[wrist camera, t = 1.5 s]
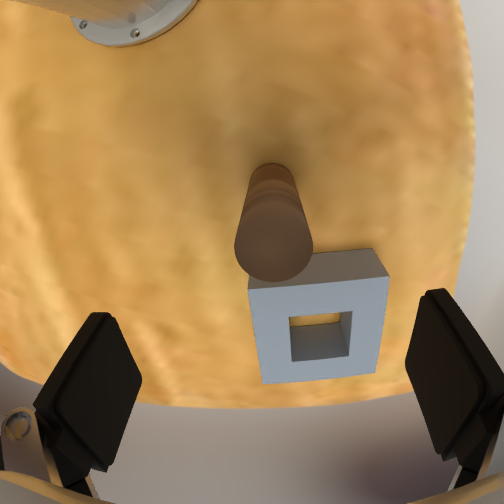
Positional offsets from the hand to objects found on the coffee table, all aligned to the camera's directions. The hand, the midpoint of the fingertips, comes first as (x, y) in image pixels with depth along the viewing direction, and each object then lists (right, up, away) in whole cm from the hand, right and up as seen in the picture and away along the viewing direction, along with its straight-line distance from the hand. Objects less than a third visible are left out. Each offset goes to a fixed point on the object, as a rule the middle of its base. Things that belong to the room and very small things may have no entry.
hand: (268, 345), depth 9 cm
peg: (+1, +8, +16) cm, 18 cm away
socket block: (+6, -2, +21) cm, 22 cm away
